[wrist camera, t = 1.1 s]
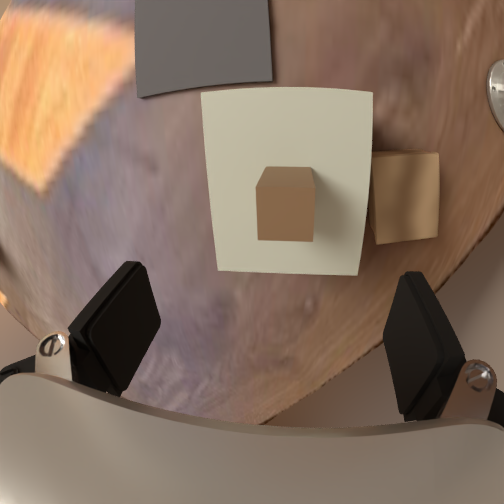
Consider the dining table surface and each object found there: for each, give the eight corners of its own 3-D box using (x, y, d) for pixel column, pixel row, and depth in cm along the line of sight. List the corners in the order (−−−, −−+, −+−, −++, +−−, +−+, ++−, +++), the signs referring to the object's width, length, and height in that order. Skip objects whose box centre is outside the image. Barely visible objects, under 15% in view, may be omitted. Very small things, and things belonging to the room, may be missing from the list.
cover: (343, 97, 29) (399, 88, 12) (339, 219, 37) (368, 318, 20) (235, 97, 31) (168, 89, 14) (243, 216, 39) (199, 310, 22)
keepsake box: (420, 146, 30) (438, 153, 25) (422, 220, 34) (437, 236, 30) (360, 150, 32) (371, 157, 27) (367, 226, 36) (376, 244, 32)
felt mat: (264, -44, 20) (263, -46, 19) (272, 81, 29) (272, 80, 29) (138, -18, 22) (136, -19, 22) (140, 97, 32) (137, 98, 31)
